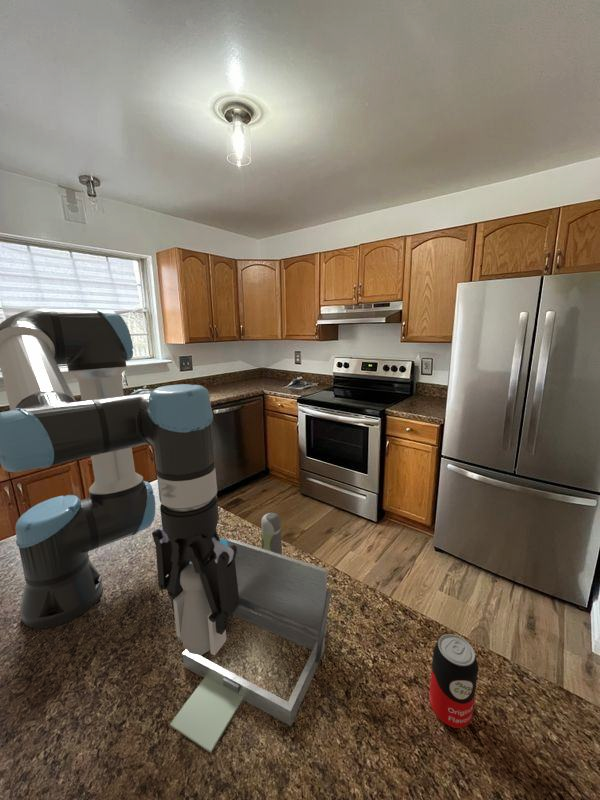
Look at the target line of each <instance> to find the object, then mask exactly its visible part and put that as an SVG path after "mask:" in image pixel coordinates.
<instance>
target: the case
mask: <svg viewBox="0 0 600 800" xmlns="http://www.w3.org/2000/svg"><path fill="white" fill-rule="evenodd" d="M226 540H227V546H228V547H229V546H230V545H231V544H234V545H235V546H236V547H237V553H236V557H235V567H236V576H237V585H238V594H239V606H238V607H237V608H236V609H235V611H234V612H233V613H232V614H231V615H230V617H229V618H228V620H229V619H230V618H231V617H235V618H238V619H239V620H242V621H245V622H247V623H249V624H252V625H253V626H257V627H259V628H261V629H263V630H265V631H267V632H270V633H272V634H274V635H277V636H279V637H282V638H284V639H285V640H288V641H291V642H293V643H295V644H297V645H300V646H301V647H302V646H303V647H305V648H307V649H308V650H311V653H310V655H309V657H308V659H307V662H306V663H305V665H304V667H303V670H302V672H301V674H300V676H299V678H298V680H297V682H296V685H295V686H294V688H293V690H292V693H291V695H290V696H289V699H288V701H287V700H285V699H283V698H281V697H280V696H277V695H275V694H273V693H272V692H270V691H269V690H266V689H264V688H262V687H260V685H259V686H258V685H256V684H254V683H253V682H251V681H249V680H247V679H245V678H243V677H242V676H241V675H237V674H236V673H234V672H232V671H230V670H228V669H226V668H224V667H222V666H221V665H218V664H216V663H214V662H213V661H211V660H209V659H207V658H206V657H203V656H202V655H201V656H200V655H196V654H191V653H189V652H188V650H187V649H186V648H185V650H184V651H183V652H182V662H183V663H182V664H183V668H185V669H187V670H189V671H191V672H193V673H194V674H196V675H197V676H200V677H201V678H203V679H204V678H205V677H206V678H208V679H210V680H212V681H213V682H215V683H217V684H219V685H221V686H222V687H224V688H226V689H228V690H230V691H231V692H233V693H235V694H237V695H239V696H241V697H242V698H243V700H242V701H244V702H246V703H248V704H250V705H251V706H253V707H255V708H257V709H259V710H261V711H262V712H265V713H266V714H268V715H270V716H271V717H273V718H276V719H277V720H278V721H280V722H282V723H285V724H286V725H287V726H289V727H292V726H293V723H294V721H295V720H296V719H295V718H296V716H297V714H298V712H299V709H300V707H301V704H302V703H303V700H304V698H305V695H306V693H307V691H308V689H309V687H310V685H311V682H312V680H313V677H314V675H315V673H316V671H317V668H318V666H319V664H320V663H321V659H322V657H323V655H324V652H325V650H326V647H325V645H326V644H325V643H326V642H325V641H326V640H325V637H326V635H327V629H328V628H327V627H328V626H327V625H328V622H327V621H328V616H329V609H330V604H331V597H332V591H331V590H330V589H329V590H328V568H324V567H321V566H318V565H314V564H312V563H308V562H306V561H302V560H299V559H296V558H292V557H289V556H287V555H283V554H282V555H281V554H278V553H274V552H271V551H268V550H265V549H262V547H259V546H255V545H252V544H249V543H245V542H242V541H239V540H237V539H233V538H228V539H226Z"/></svg>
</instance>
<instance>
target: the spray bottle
mask: <svg viewBox="0 0 600 800" xmlns="http://www.w3.org/2000/svg"><path fill="white" fill-rule="evenodd" d="M260 523H261V531H260V532H261V534H260V536H261V537H260V538H261V539H260V540H261V541H260V542H261V548H262V549H265V550H268V551H271V552H274V553H278V554H281V555H283V544H282V539H283V538H282V528H281V527H282V524H281V519H280V516H279V515H278V514H277V513H275V512H268V513H266V514H264V515H263V516H262V517H261V521H260Z"/></svg>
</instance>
